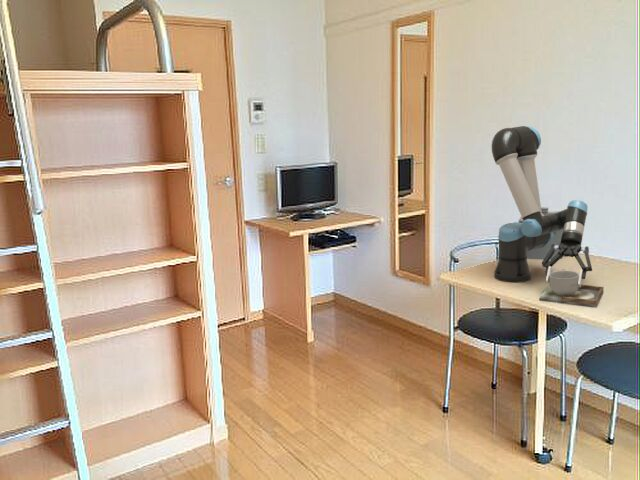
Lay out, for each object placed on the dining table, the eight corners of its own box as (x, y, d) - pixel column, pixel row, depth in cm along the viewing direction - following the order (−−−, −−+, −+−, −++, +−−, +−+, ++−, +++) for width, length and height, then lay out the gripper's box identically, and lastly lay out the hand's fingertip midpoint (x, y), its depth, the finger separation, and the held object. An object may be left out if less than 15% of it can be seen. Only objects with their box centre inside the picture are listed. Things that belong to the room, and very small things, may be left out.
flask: (524, 259, 275) (525, 208, 269) (523, 256, 279) (524, 206, 274) (563, 259, 270) (564, 207, 265) (561, 256, 275) (563, 205, 269)
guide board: (539, 300, 220) (539, 294, 219) (549, 287, 234) (549, 281, 233) (596, 307, 209) (596, 301, 208) (603, 292, 223) (603, 286, 222)
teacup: (576, 299, 214) (576, 279, 212) (545, 296, 220) (546, 276, 218) (582, 288, 225) (582, 268, 223) (552, 285, 231) (553, 266, 229)
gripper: (605, 242, 224) (597, 292, 215) (543, 238, 237) (533, 285, 228) (603, 232, 219) (595, 282, 210) (540, 228, 232) (530, 276, 223)
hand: (563, 283), depth 219 cm, fingers closed on teacup, 11 cm apart
